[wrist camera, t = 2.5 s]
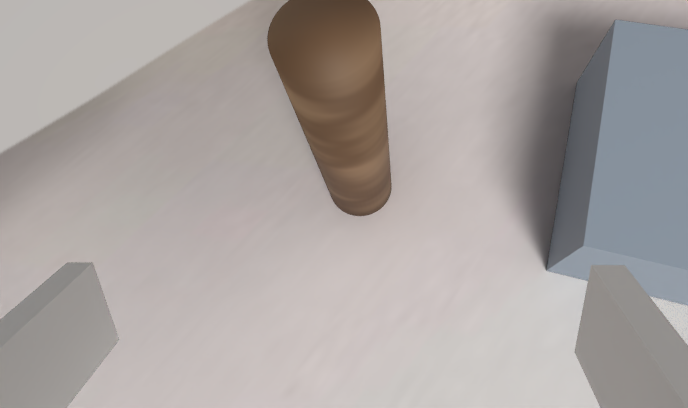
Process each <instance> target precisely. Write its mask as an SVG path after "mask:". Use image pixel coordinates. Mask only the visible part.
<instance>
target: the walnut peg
mask: <svg viewBox="0 0 688 408" xmlns="http://www.w3.org/2000/svg"><path fill="white" fill-rule="evenodd" d="M268 48H269V51H270V54H271V57H272V59H273V61H274V64H275V66H276V68H277V71H278V73H279V75H280V78H281V80H282V82H283V85H284V87H285V89H286V92H287V94H288V96H289V99H290V101H291V103H292V106H293V108H294V110H295V113H296V115H297V117H298V120H299V122H300V124H301V127H302V129H303V131H304V134H305V136H306V138H307V141H308V143H309V145H310V148H311V150H312V152H313V155H314V157H315V159H316V162H317V164H318V166H319V169H320V171H321V173H322V176H323V178H324V180H325V183H326V185H327V187H328V190H329V192H330V194H331V197H332V199H333V201H334V203H335V204H336V205H337V207H338V208H340V209H341V210H342V211H344V212H345V213H348V214H350V215H355V216H365V215H369V214H372V213H374V212H376V211H378V210H379V209H381V208H382V207H383V206H384V205H385V203H386V202H387V200H388V198H389V196H390V193H391V172H390V158H389V143H388V129H387V114H386V100H385V86H384V71H383V57H382V42H381V28H380V20H379V17H378V14H377V12H376V10H375V8H374V7H373V5H372V4H371V3H370V2H369V1H368V0H289V1H288V2H287V3H285V4H284V5H283V6H282V7H281V8H280V10H279V11H278V12H277V13H276V15H275V16H274V18H273V20H272V22H271V24H270V27H269V31H268Z"/></svg>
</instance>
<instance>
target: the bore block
mask: <svg viewBox="0 0 688 408" xmlns="http://www.w3.org/2000/svg"><path fill="white" fill-rule="evenodd" d="M591 265H625V266H626V267H627V269H628V270H629V271H630V273H631V274H632V275H633V276H634V278H635V279H636V280H637V282H638V283H639V284H640V285H641V287H642V288H643V289H644V290H645V292H646V293H647V294H648V296H652V297H656V298H660V299H664V300H668V301H672V302H676V303H680V304H684V305H688V30H687V29H680V28H673V27H665V26H658V25H651V24H644V23H636V22H629V21H622V20H615V21H614V23H613V24H612V26H611V28H610V29H609V31H608V33H607V34H606V36H605V37H604V39H603V41H602V42H601V44H600V46H599V47H598V49H597V51H596V52H595V54H594V55H593V57H592V59H591V60H590V62H589V64H588V65H587V67H586V68H585V70H584V72H583V73H582V75H581V77H580V78H579V80H578V82H577V85H576V91H575V97H574V104H573V110H572V116H571V122H570V128H569V134H568V140H567V147H566V153H565V159H564V165H563V171H562V177H561V183H560V190H559V196H558V202H557V208H556V214H555V220H554V226H553V233H552V239H551V245H550V251H549V257H548V263H547V269H546V271H550V272H554V273H558V274H562V275H566V276H571V277H575V278H579V279H583V280H587V281H588V279H589V274H590V269H591Z"/></svg>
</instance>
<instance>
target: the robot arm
mask: <svg viewBox="0 0 688 408" xmlns="http://www.w3.org/2000/svg"><path fill="white" fill-rule="evenodd" d="M118 341H119V337H118V334H117V331H116V329H115V326H114V323H113V320H112V317H111V314H110V311H109V308H108V305H107V303H106V300H105V297H104V294H103V291H102V288H101V285H100V282H99V279H98V277H97V274H96V271H95V268H94V265H93V263H66V264H65V265H64V266H63V267H62V268H60V269H59V270H58V271H57V272H56V273H55V274H53V275H52V276H51V277H50V278H49V279H48V280H46V281H45V282H44V283H43V284H42V285H41V286H39V287H38V288H37V289H36V290H35V291H34V292H32V293H31V294H30V295H29V296H28V297H27V298H25V299H24V300H23V301H22V302H21V303H20V304H18V305H17V306H16V307H15V308H14V309H12V310H11V311H10V312H9V313H8V314H7V315H5V316H4V317H3V318H2V319H1V320H0V408H67V406H68V405H69V404H70V403H71V401H72V400H73V399H74V397H75V396H76V395H77V394H78V392H79V391H80V390H81V388H82V387H83V386H84V385H85V383H86V382H87V381H88V379H89V378H90V377H91V375H92V374H93V373H94V372H95V370H96V369H97V368H98V366H99V365H100V364H101V363H102V361H103V360H104V359H105V357H106V356H107V355H108V354H109V352H110V351H111V350H112V348H113V347H114V346H115V345H116V343H117V342H118ZM575 354H576V356H577V358H578V360H579V362H580V365H581V367H582V369H583V371H584V373H585V375H586V377H587V380H588V382H589V384H590V386H591V388H592V390H593V392H594V395H595V397H596V399H597V401H598V403H599V405H600V407H601V408H688V345H687V344H686V343H685V341H684V340H683V339H682V338H681V336H680V335H679V334H678V333H677V331H676V330H675V329H674V327H673V326H672V325H671V324H670V322H669V321H668V320H667V319H666V317H665V316H664V315H663V313H662V312H661V311H660V310H659V308H658V307H657V306H656V304H655V303H654V302H653V301H652V299H651V298H650V297H649V296H648V294H647V293H646V292H645V290H644V289H643V288H642V287H641V285H640V284H639V283H638V282H637V280H636V279H635V278H634V276H633V275H632V274H631V273H630V271H629V270H628V269H627V267H626V266H625V265H591V269H590V274H589V279H588V284H587V290H586V295H585V300H584V305H583V310H582V315H581V321H580V326H579V331H578V336H577V341H576V347H575Z"/></svg>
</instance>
